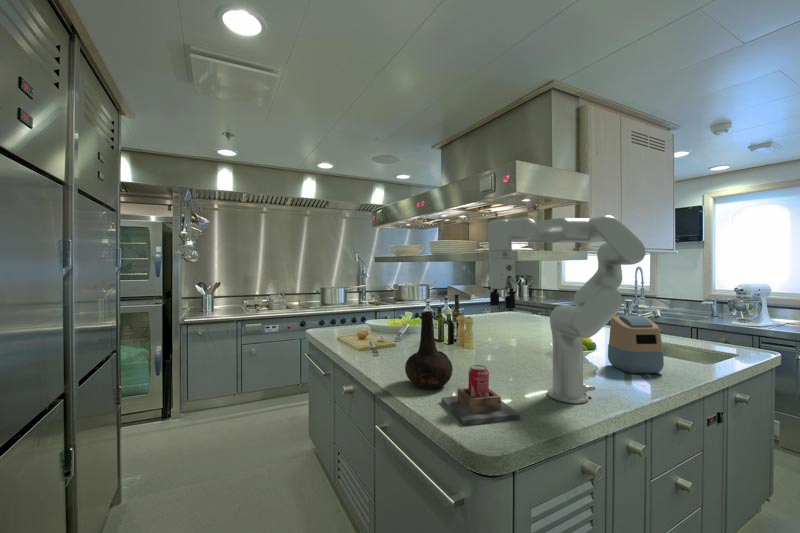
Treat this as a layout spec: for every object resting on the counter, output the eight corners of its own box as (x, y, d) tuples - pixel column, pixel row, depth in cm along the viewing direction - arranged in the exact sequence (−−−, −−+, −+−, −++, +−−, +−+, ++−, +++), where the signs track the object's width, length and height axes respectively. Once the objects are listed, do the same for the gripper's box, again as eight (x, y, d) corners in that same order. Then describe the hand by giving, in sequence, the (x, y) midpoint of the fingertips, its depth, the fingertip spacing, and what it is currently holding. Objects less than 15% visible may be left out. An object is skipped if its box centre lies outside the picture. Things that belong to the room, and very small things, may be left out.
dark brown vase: (462, 387, 130) (461, 312, 130) (422, 397, 121) (422, 316, 121) (433, 375, 145) (433, 308, 145) (396, 382, 136) (396, 310, 136)
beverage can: (470, 400, 114) (470, 363, 114) (490, 402, 112) (490, 365, 112) (466, 407, 108) (466, 368, 108) (487, 410, 106) (487, 370, 106)
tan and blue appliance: (628, 375, 144) (628, 319, 144) (604, 364, 161) (604, 314, 161) (668, 375, 145) (668, 319, 145) (640, 364, 161) (639, 314, 161)
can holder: (490, 397, 120) (490, 381, 121) (520, 419, 103) (520, 400, 103) (441, 401, 116) (441, 385, 116) (463, 425, 99) (463, 406, 99)
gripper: (525, 254, 111) (527, 308, 111) (497, 256, 128) (498, 303, 128) (504, 255, 109) (506, 310, 109) (478, 257, 126) (480, 304, 126)
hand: (502, 306), depth 118 cm, fingers open, 9 cm apart
